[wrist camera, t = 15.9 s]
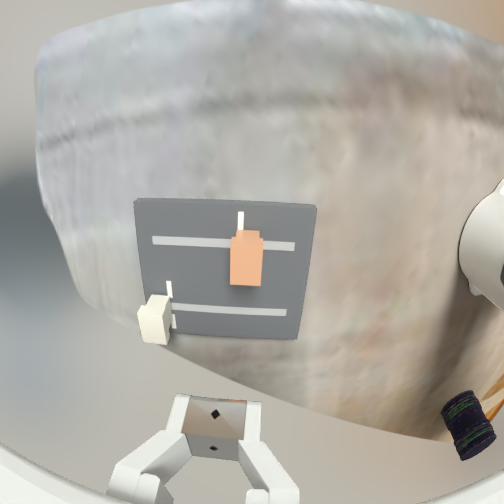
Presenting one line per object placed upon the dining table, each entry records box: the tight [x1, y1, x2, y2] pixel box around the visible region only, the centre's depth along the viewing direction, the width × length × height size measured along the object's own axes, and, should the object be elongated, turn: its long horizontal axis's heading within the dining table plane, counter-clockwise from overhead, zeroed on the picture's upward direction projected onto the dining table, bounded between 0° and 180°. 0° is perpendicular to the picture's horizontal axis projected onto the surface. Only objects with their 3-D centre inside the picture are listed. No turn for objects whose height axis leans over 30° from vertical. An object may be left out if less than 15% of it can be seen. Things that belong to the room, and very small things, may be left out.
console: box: [134, 198, 317, 339], centre depth 35 cm, size 20×18×2 cm
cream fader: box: [137, 294, 173, 345], centre depth 34 cm, size 3×4×5 cm
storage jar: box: [441, 390, 496, 461], centre depth 45 cm, size 10×10×15 cm
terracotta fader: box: [230, 230, 263, 286], centre depth 30 cm, size 3×4×5 cm
